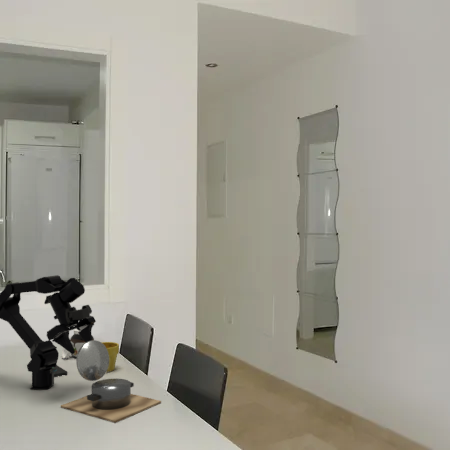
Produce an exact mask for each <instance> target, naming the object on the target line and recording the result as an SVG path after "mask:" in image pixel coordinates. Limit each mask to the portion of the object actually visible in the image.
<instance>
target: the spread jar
mask: <svg viewBox="0 0 450 450" xmlns="http://www.w3.org/2000/svg"><path fill="white" fill-rule="evenodd" d="M78 332H79V330H77V329H73V335H71V336H70V337H69V339H70V341H71V343H72V346H73V348H74V351H75V353H73V354H71V353H70V352H69V351H67V350H66V349H65V348H63V347H62V352H61V357H62V359H66V360H67V359H69V357H70V356H72V358H73V359H76V360H77V354H78V351H79V349H80V348H81V346H82V345H83V344H84V343H86V342H85V341H84V340H83V338H82V337H81V336H80V334H79V333H78ZM93 340H95V338H94V336H93V335H92V341H93Z"/></svg>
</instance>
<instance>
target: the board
mask: <svg viewBox="0 0 450 450" xmlns="http://www.w3.org/2000/svg"><path fill="white" fill-rule="evenodd" d="M160 404H162V400H158V399H154V398H151V397H150V398H149V397H147V396H142V395H137V394H133V393H131V403H130V404H129V405H128V406H126V407H123V408H119V409H114V410H100V409H96V408H94V407H92V401H91V400H87V395H85V396H83V397H80V398H78V399H75V400H72V401H68V402H67V403H66V402H65V403H63V404H61V405H60V408H62V409H64V410H65V409H66V410H69V411H73V412H76V413H78V414H79V413H80V414H82V415H87V416H90V417H93V418H97V419H101V420H105V421H106V422H107V421H108V422H111V423H114V424H116V423H118V422H120V421H123V420H125V419H128V418H130V417H132V416H135V415H136V414H139V413H142V412H144V411H146V410H148V409H151V408H154V407H155V406H158V405H160Z"/></svg>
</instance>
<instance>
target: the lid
mask: <svg viewBox="0 0 450 450" xmlns="http://www.w3.org/2000/svg"><path fill="white" fill-rule="evenodd" d="M101 342H102V341H99V340H95V339H94V340H93V341H88V342H86V343H84V344H83V345H82V346H81V348H80V349H79V351H78V354H77V359H76V367H77V372H78V373H79V375H80V377H81V378H83V379H84V380H86V381H90V382H92V381H93V382H94V381H95V382H97V381H100V379H102V378H103V377H104V376H105V375H106V373H107V372H106V371H107V369H108V366H109V354H108V351H107V348H106V347H105V345H104V344H103V343H101Z"/></svg>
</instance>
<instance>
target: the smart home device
mask: <svg viewBox="0 0 450 450" xmlns="http://www.w3.org/2000/svg"><path fill="white" fill-rule="evenodd" d="M52 372H54V378H58V376H59V377H63V376H62V375H65V376H67V375H68V371H67V370H65V369H64V368H62V367H60V366H59V365H57V364H56V367H53V368H52Z"/></svg>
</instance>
